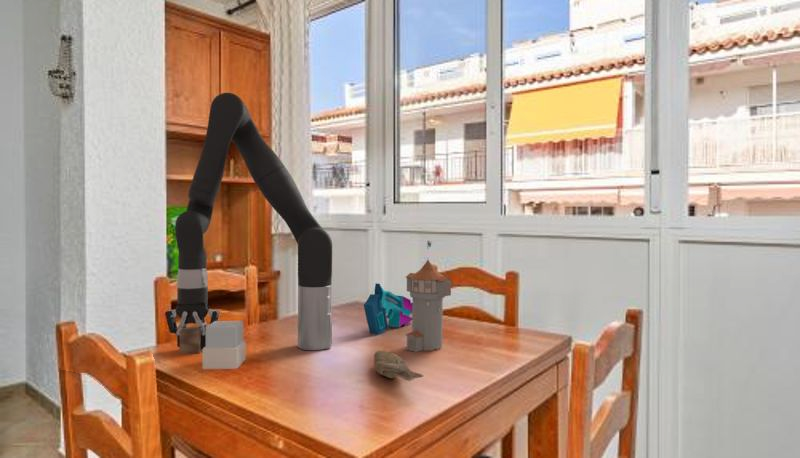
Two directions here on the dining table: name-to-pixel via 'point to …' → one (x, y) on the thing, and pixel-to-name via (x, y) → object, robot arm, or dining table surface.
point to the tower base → (224, 357)
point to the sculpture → (393, 366)
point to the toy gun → (386, 310)
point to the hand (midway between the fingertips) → (192, 348)
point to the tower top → (224, 334)
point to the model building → (427, 307)
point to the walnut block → (190, 340)
